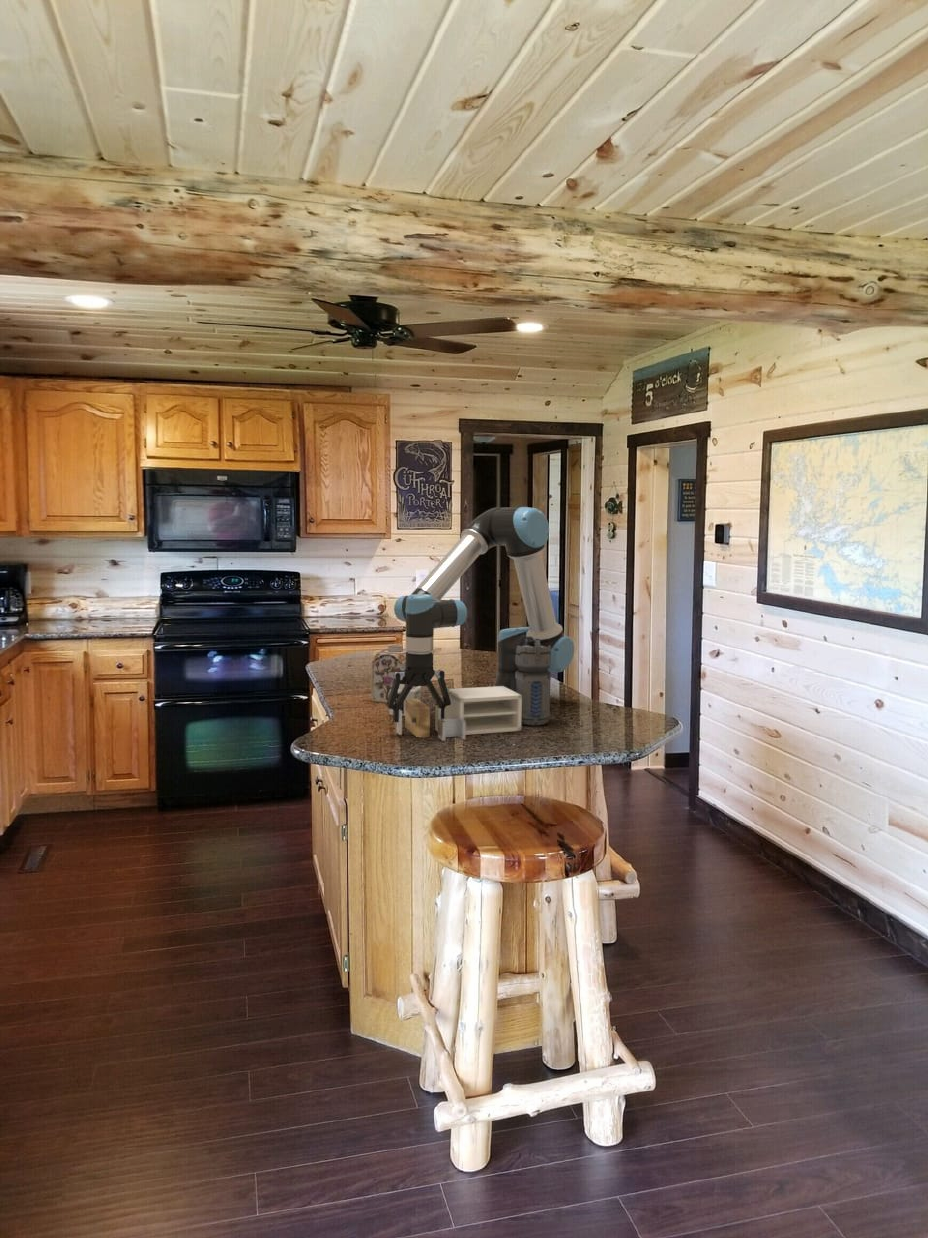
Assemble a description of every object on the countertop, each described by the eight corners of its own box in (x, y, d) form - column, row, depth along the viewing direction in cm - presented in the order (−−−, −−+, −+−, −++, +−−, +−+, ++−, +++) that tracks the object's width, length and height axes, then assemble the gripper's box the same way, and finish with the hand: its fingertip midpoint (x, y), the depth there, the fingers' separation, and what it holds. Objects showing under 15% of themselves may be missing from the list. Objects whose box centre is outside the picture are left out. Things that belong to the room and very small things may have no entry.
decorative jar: (370, 702, 274) (370, 646, 272) (387, 695, 285) (387, 641, 283) (404, 705, 270) (404, 648, 267) (420, 698, 280) (420, 643, 278)
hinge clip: (460, 735, 232) (460, 717, 232) (465, 739, 229) (465, 720, 228) (437, 737, 230) (438, 719, 230) (442, 741, 226) (442, 722, 226)
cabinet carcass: (502, 719, 252) (503, 685, 251) (521, 730, 239) (521, 695, 238) (443, 723, 246) (444, 689, 245) (459, 735, 233) (460, 698, 232)
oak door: (417, 726, 242) (417, 698, 241) (429, 737, 231) (429, 707, 230) (401, 727, 241) (402, 699, 240) (413, 738, 230) (413, 708, 229)
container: (414, 716, 254) (414, 673, 253) (389, 715, 256) (389, 672, 254) (420, 711, 262) (421, 669, 260) (396, 709, 263) (396, 667, 262)
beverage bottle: (542, 716, 257) (544, 633, 254) (554, 726, 244) (556, 639, 241) (509, 717, 255) (511, 633, 252) (518, 727, 242) (520, 639, 239)
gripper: (455, 648, 239) (453, 726, 242) (374, 651, 232) (374, 731, 234) (463, 652, 232) (462, 732, 235) (381, 655, 225) (381, 738, 227)
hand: (418, 732), depth 235 cm, fingers open, 10 cm apart
